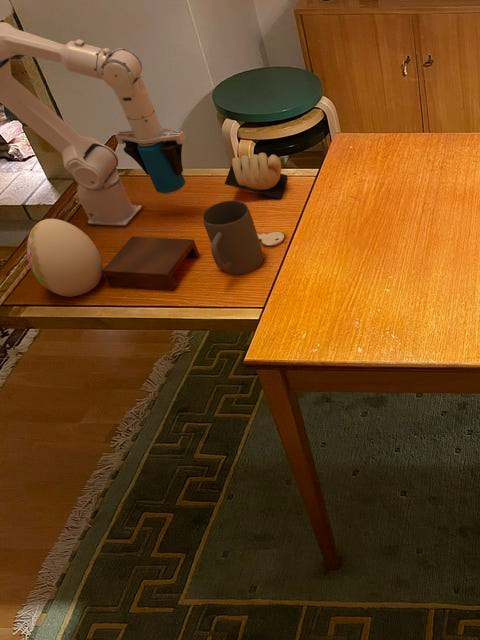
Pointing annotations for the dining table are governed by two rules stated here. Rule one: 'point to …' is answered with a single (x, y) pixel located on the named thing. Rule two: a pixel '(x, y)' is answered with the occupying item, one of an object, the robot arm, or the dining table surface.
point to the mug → (233, 237)
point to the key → (271, 238)
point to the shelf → (149, 262)
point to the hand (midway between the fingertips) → (165, 172)
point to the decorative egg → (63, 258)
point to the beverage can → (160, 168)
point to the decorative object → (257, 175)
